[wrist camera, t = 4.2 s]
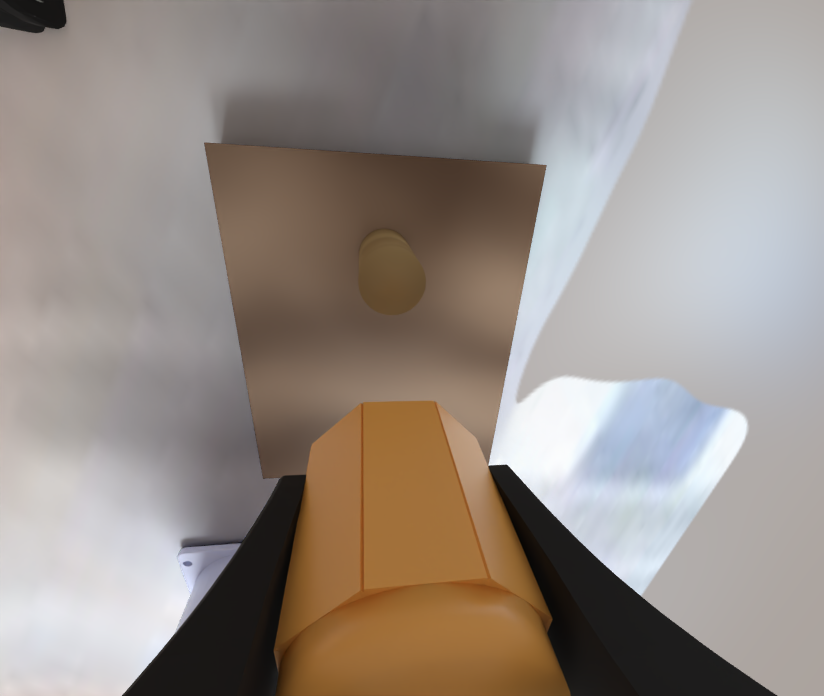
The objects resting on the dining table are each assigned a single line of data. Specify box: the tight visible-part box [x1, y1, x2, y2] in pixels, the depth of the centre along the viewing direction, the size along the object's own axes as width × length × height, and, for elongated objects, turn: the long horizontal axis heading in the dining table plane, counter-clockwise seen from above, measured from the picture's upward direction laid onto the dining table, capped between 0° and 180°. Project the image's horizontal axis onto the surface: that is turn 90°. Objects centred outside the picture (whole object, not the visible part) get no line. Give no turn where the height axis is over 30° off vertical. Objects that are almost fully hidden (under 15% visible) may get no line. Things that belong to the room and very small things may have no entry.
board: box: [204, 143, 546, 479], centre depth 15 cm, size 15×12×6 cm
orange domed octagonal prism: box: [274, 401, 571, 696], centre depth 9 cm, size 5×5×6 cm
